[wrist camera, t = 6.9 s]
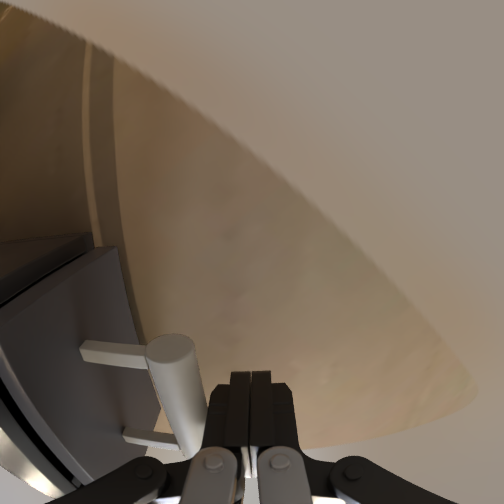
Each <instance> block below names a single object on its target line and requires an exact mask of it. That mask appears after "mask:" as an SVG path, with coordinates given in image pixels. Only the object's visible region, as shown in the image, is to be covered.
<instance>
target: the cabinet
mask: <svg viewBox="0 0 504 504" xmlns="http://www.w3.org/2000/svg"><path fill="white" fill-rule="evenodd" d="M93 249H94V245H93V239H92V233H91V232H84V233H74V234H65V235H56V236H47V237H39V238H30V239H22V240H15V241H7V242H0V304H2V303H3V302H5V301H6V300H7V299H9V298H10V297H12V296H13V295H15V294H16V293H18V292H19V291H21V290H22V289H24V288H25V287H27V286H28V285H30V284H32V283H33V282H35V281H36V280H38V279H39V278H41V277H43V276H44V275H46V274H48V273H49V272H51V271H52V270H54V269H56V268H57V267H59V266H61V265H67V264H69V263H71V262H73V261H74V260H76V259H78V258H79V257H81V256H83V255H84V254H86V253H88V252H90V251H91V250H93ZM0 466H2V467H3V468H4V469H6V470H7V471H8V472H10V473H11V474H13V475H14V476H16V477H18V478H19V479H21V480H22V481H24V482H25V483H27V484H29V485H30V486H32V487H33V488H35V489H37V490H39V491H40V492H42V493H44V494H46V495H48V496H50V497H51V498H54V499H57V498H59V497H62V496H64V495H66V494H68V493H70V492H73V491H75V490H77V489H79V488H81V487H83V486H84V485H83V484H82V483H81V485H80V487H79V488H77V487H74V486H73V485H72V484H71V483H70V482H69V481H68V480H67V479H66V478H65V477H64V476H63V475H62V474H61V473H60V472H59V471H58V470H57V469H56V468H55V467H54V466H53V465H52V464H51V463H50V462H49V461H48V459H47V458H46V457H45V456H44V455H43V454H42V453H41V452H40V450H39V449H38V448H37V447H36V446H35V445H34V443H33V442H32V441H31V440H30V438H29V437H28V436H27V435H26V433H25V432H24V431H23V430H22V428H21V427H20V426H19V424H18V423H17V421H16V420H15V419H14V417H13V416H12V414H11V413H10V412H9V410H8V409H7V407H6V406H5V404H4V403H3V401H2V400H1V398H0Z"/></svg>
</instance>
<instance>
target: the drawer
mask: <svg viewBox="0 0 504 504" xmlns="http://www.w3.org/2000/svg"><path fill="white" fill-rule="evenodd" d="M149 368H150V371H151V374H152V377H153V380H154V383H155V386H156V389H157V392H158V394H159V397H160V400H161V403H162V405H163V408H164V411H165V413H166V416H167V418H168V421H169V423H170V426H171V428H172V430H173V433H174V434H169V433H161V432H154V431H153V430H154V427H155V424H156V422H157V419H158V416H159V413H160V410H161V406H160V404H159V401H158V398H157V396H156V393H155V390H154V387H153V385H152V382H151V379H150V376H149V373H148V370H147V369H149ZM0 398H1V400H2V401H3V403H4V404H5V406H6V407H7V409H8V410H9V412H10V413H11V414H12V416H13V417H14V419H15V420H16V421H17V423H18V424H19V426H20V427H21V428H22V430H23V431H24V432H25V433H26V435H27V436H28V437H29V438H30V440H31V441H32V442H33V443H34V445H35V446H36V447H37V448H38V449H39V450H40V452H41V453H42V454H43V455H44V456H45V457H46V458H47V459H48V461H49V462H50V463H51V464H52V465H53V466H54V467H55V468H56V469H57V470H58V471H59V472H60V473H61V474H62V475H63V476H64V477H65V478H66V479H67V480H68V481H69V482H70V483H71V484H72V485H73V486H74V487H77V488H79V487H80V485H81V483H82V484H83V485H84V486H85V485H87V484H89V483H91V482H93V481H95V480H97V479H99V478H100V477H102V476H104V475H106V474H108V473H110V472H111V471H113V470H115V469H117V468H119V467H120V466H122V465H124V464H126V463H127V462H129V461H131V460H132V459H134V458H137V457H141V456H145V454H146V451H147V447H148V446H150V447H156V448H163V449H170V450H178V451H180V450H181V451H182V453H183V455H184V456H185V458H186V459H187V460H188V459H190V458H192V457H193V456H194V455H195V454H196V453H197V452H198V451H199V450H200V448H201V445H202V439H203V433H204V428H205V422H206V417H207V412H208V407H207V403H206V398H205V394H204V390H203V385H202V380H201V376H200V371H199V366H198V361H197V356H196V351H195V346H194V343H193V341H192V340H191V339H190V338H189V337H187V336H185V335H181V334H166V335H162V336H159V337H157V338H155V339H153V340H151V341H150V342H149V343H148V344H147V345H140V344H139V341H138V337H137V334H136V330H135V327H134V323H133V319H132V315H131V311H130V307H129V303H128V299H127V294H126V290H125V285H124V281H123V276H122V271H121V266H120V260H119V255H118V249H117V246H107V247H97V248H95V249H93V250H91V251H90V252H88V253H86V254H84V255H83V256H81V257H79V258H78V259H76V260H74V261H73V262H71V263H69V264H67V265H61V266H59V267H57V268H56V269H54V270H52V271H51V272H49V273H48V274H46V275H44V276H43V277H41V278H39V279H38V280H36V281H35V282H33V283H32V284H30V285H28V286H27V287H25V288H24V289H22V290H21V291H19V292H18V293H16V294H15V295H13V296H12V297H10V298H9V299H7V300H6V301H5V302H3V303H2V304H0Z"/></svg>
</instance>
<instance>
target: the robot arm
mask: <svg viewBox="0 0 504 504" xmlns="http://www.w3.org/2000/svg"><path fill="white" fill-rule="evenodd" d="M252 468H253V477H254V478H256V477H257V479H258V489H259V499H260V504H457V503H455V502H452V501H450V500H447V499H445V498H443V497H440V496H438V495H436V494H434V493H431V492H429V491H427V490H425V489H423V488H421V487H418V486H416V485H414V484H412V483H410V482H408V481H406V480H404V479H402V478H401V477H399V476H397V475H395V474H393V473H391V472H389V471H387V470H386V469H383V468H382V467H380V466H378V465H376V464H375V463H373V462H371V461H370V460H368V459H366V458H364V457H360V456H348V457H345V458H342V459H340V460H338V461H337V462H336V463H334V462H324V461H318V460H314V459H312V458H310V457H308V456H306V455H305V454H304V453H303V452H302V450H301V449H300V447H299V442H298V434H297V427H296V419H295V413H294V404H293V397H292V391H291V390H290V389H289V387H288V386H287V385H286V383H271V371H252V379H251V372H250V371H243V372H231V377H230V385H229V384H218V385H217V386H216V388H215V389H214V390H213V391H212V393H211V395H210V401H209V406H208V412H207V417H206V422H205V428H204V433H203V439H202V445H201V448H200V450H199V451H198V452H197V453H196V454H195V455H194V456H193V457H192V458H190V459H188V460H186V461H182V462H176V463H169V464H163V463H162V462H160V461H159V460H158V459H156V458H153V457H149V456H141V457H137V458H134V459H132V460H131V461H129V462H127V463H126V464H124V465H122V466H120V467H119V468H117V469H115V470H113V471H111V472H110V473H108V474H106V475H104V476H102V477H100V478H99V479H97V480H95V481H93V482H91V483H89V484H87V485H85V486H83V487H81V488H79V489H77V490H75V491H73V492H70V493H68V494H66V495H64V496H62V497H59V498H57V499H55V500H52V501H50V502H48V503H45V504H243V498H244V491H245V478H252Z"/></svg>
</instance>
